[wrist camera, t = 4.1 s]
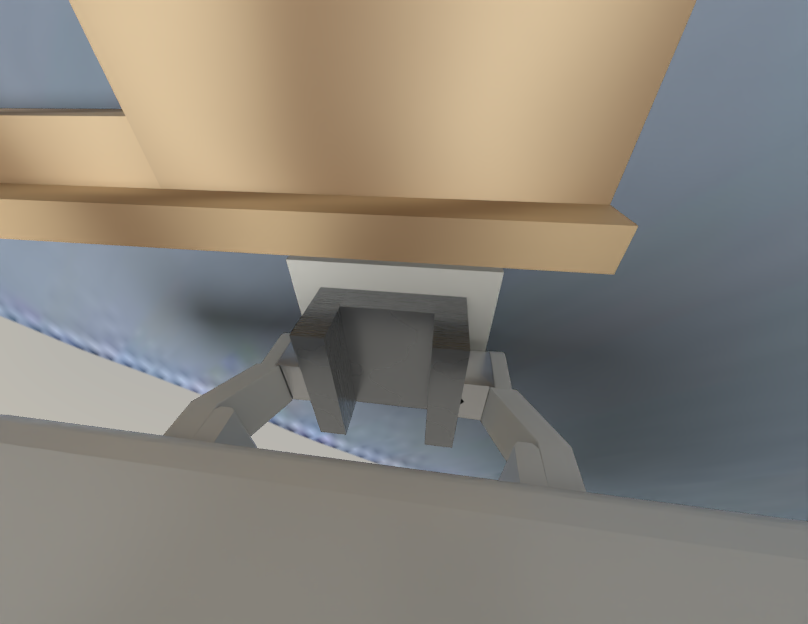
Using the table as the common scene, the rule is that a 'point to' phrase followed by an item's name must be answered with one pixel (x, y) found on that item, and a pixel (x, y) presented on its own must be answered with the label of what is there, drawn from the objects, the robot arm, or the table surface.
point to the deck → (350, 130)
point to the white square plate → (404, 284)
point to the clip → (384, 355)
